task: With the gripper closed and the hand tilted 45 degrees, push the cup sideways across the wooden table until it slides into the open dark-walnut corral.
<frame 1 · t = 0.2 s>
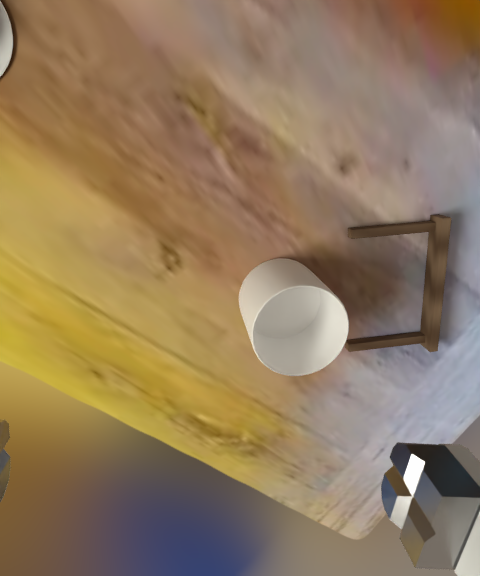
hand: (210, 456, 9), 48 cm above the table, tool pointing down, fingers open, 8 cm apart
cup: (278, 296, 60), on the table
corral: (379, 287, 61), on the table
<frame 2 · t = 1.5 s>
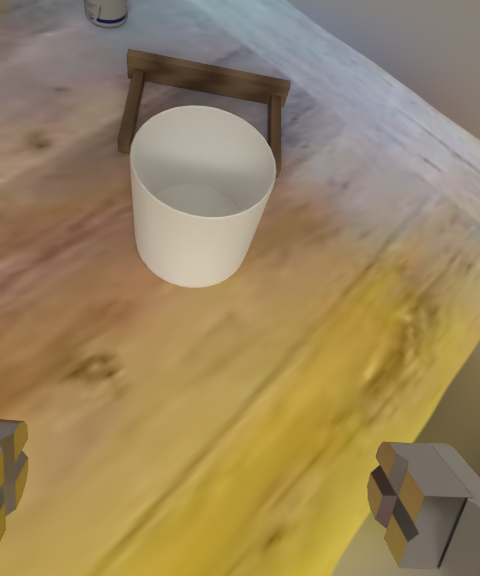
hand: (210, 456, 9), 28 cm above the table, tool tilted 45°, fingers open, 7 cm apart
cup: (192, 239, 44), on the table
corral: (203, 132, 50), on the table
energy drink: (106, 17, 56), on the table
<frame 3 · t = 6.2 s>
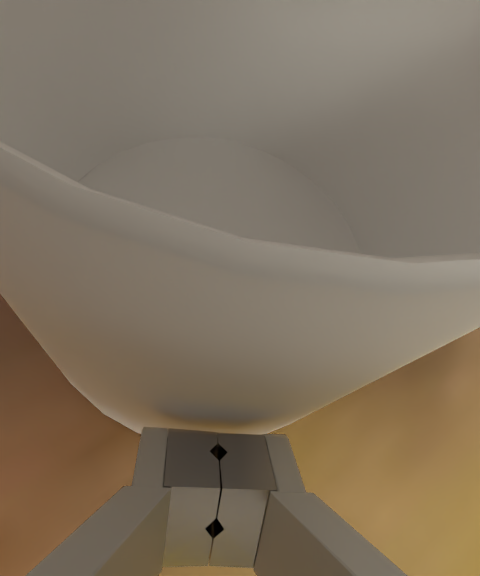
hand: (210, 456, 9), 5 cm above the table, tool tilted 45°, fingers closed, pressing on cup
cup: (206, 286, 16), on the table, touching gripper
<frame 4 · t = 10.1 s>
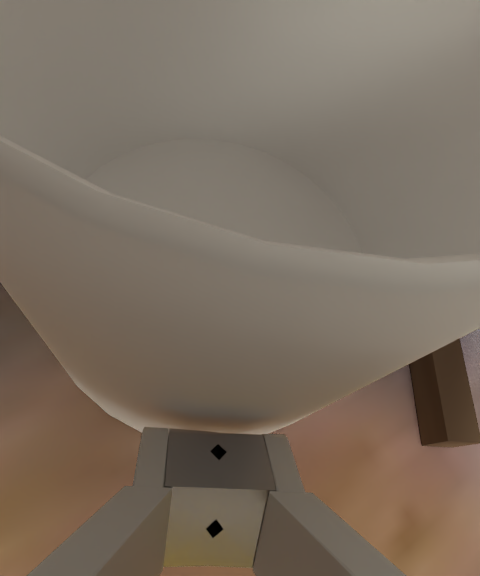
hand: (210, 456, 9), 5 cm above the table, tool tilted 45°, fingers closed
cup: (209, 286, 16), on the table
corral: (205, 294, 16), on the table
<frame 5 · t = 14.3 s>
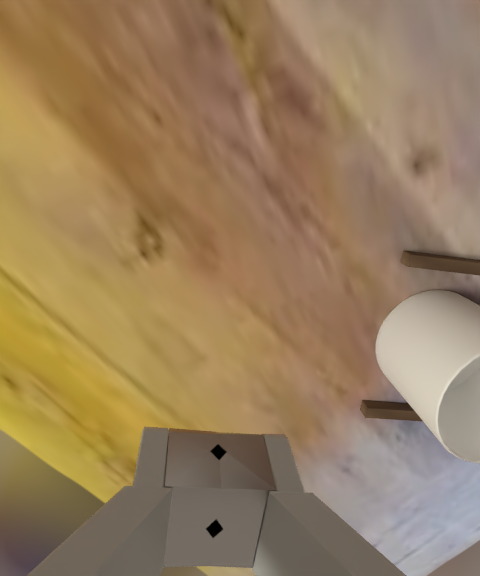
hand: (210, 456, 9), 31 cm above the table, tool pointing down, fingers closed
cup: (426, 339, 45), on the table
corral: (424, 339, 45), on the table
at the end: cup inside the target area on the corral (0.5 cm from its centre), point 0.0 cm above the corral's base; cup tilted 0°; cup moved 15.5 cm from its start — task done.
